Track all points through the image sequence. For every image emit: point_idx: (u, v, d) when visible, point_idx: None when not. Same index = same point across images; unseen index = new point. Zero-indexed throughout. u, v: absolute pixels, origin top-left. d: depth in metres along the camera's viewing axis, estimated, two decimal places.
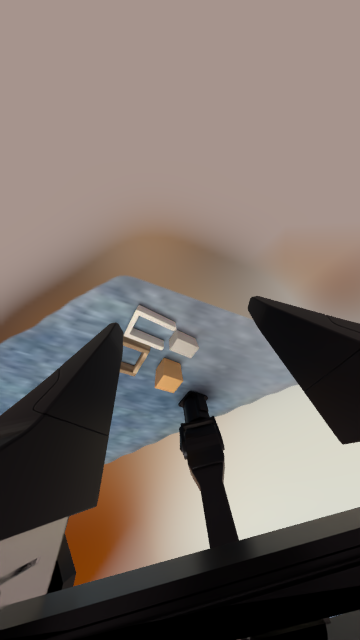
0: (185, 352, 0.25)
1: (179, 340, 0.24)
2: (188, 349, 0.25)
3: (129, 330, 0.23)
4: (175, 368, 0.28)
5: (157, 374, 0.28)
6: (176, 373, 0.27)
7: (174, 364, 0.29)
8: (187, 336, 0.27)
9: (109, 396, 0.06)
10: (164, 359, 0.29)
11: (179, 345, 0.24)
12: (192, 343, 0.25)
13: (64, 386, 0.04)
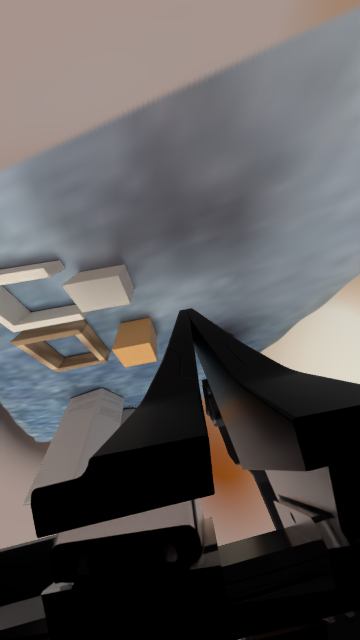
0: (109, 300, 0.13)
1: (70, 287, 0.11)
2: (106, 291, 0.12)
3: (4, 321, 0.13)
4: (138, 329, 0.17)
5: None
6: (138, 336, 0.16)
7: (137, 323, 0.18)
8: (101, 270, 0.13)
9: None
10: (121, 325, 0.18)
11: (83, 295, 0.12)
12: (103, 276, 0.12)
13: (191, 360, 0.04)
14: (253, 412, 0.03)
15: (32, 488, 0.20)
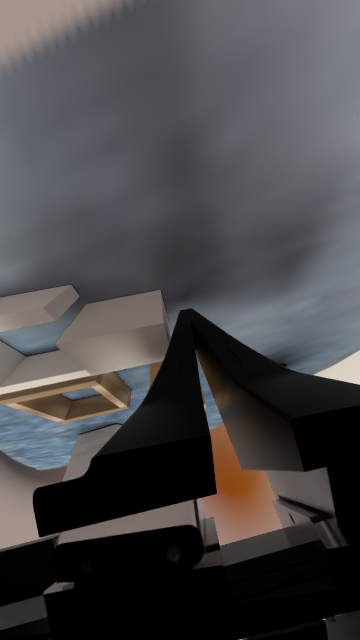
0: (139, 357, 0.07)
1: (72, 346, 0.06)
2: (136, 347, 0.07)
3: None
4: None
5: None
6: None
7: None
8: (124, 302, 0.08)
9: None
10: (152, 364, 0.13)
11: (96, 355, 0.07)
12: (134, 321, 0.06)
13: (192, 360, 0.04)
14: (252, 412, 0.03)
15: None
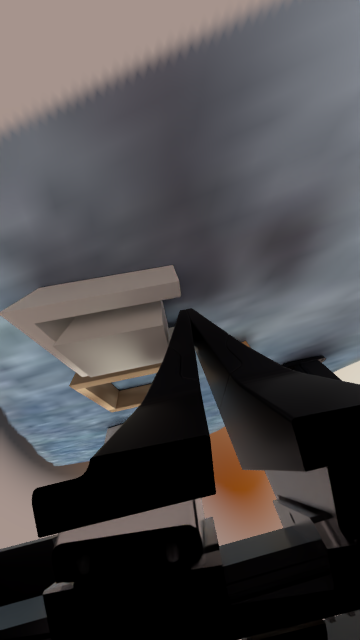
0: (138, 359, 0.07)
1: (70, 347, 0.06)
2: (135, 349, 0.07)
3: None
4: None
5: None
6: None
7: None
8: None
9: None
10: None
11: (94, 356, 0.07)
12: (133, 323, 0.06)
13: (192, 360, 0.04)
14: (252, 412, 0.03)
15: None
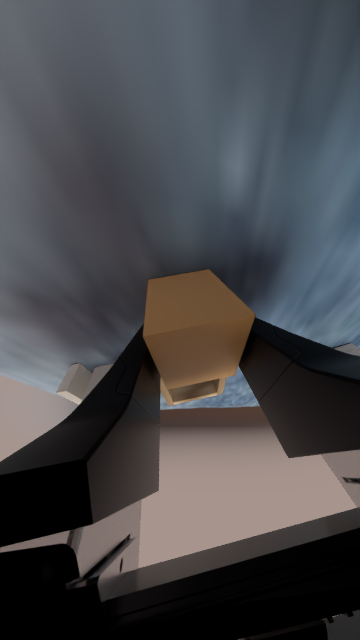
0: None
1: None
2: None
3: None
4: None
5: None
6: None
7: None
8: None
9: (157, 386, 0.06)
10: None
11: None
12: None
13: (135, 371, 0.04)
14: (328, 395, 0.03)
15: None
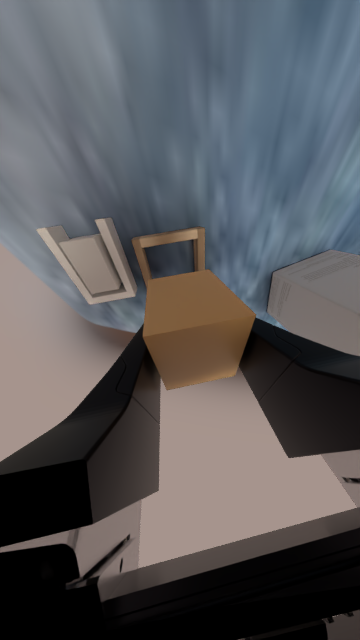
0: (95, 261, 0.12)
1: (91, 288, 0.14)
2: (85, 261, 0.12)
3: (121, 294, 0.16)
4: None
5: None
6: None
7: None
8: None
9: (157, 386, 0.06)
10: None
11: (97, 281, 0.13)
12: None
13: (135, 371, 0.04)
14: (328, 395, 0.03)
15: None
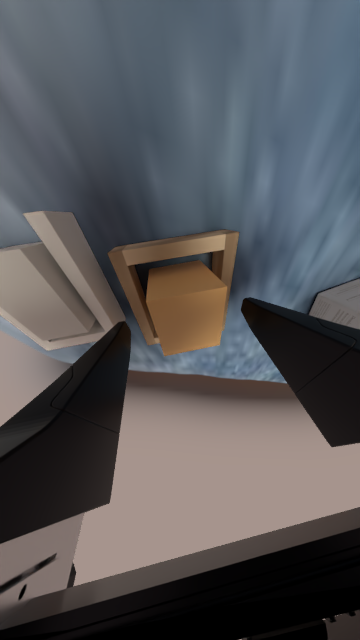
0: (36, 292, 0.06)
1: (39, 333, 0.08)
2: (15, 292, 0.06)
3: (98, 335, 0.10)
4: None
5: None
6: None
7: None
8: None
9: (119, 394, 0.06)
10: None
11: (48, 323, 0.08)
12: None
13: (79, 383, 0.04)
14: None
15: None
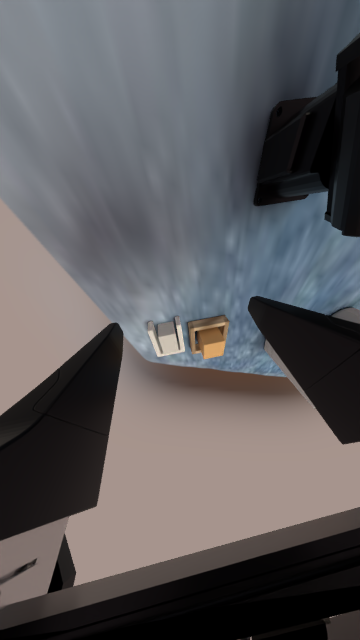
0: (172, 341, 0.23)
1: (164, 351, 0.25)
2: (167, 342, 0.23)
3: (177, 351, 0.26)
4: (199, 339, 0.26)
5: None
6: (201, 343, 0.25)
7: (198, 335, 0.27)
8: None
9: (109, 396, 0.06)
10: (198, 341, 0.29)
11: (169, 349, 0.24)
12: None
13: (64, 386, 0.04)
14: None
15: (307, 399, 0.26)
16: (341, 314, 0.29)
